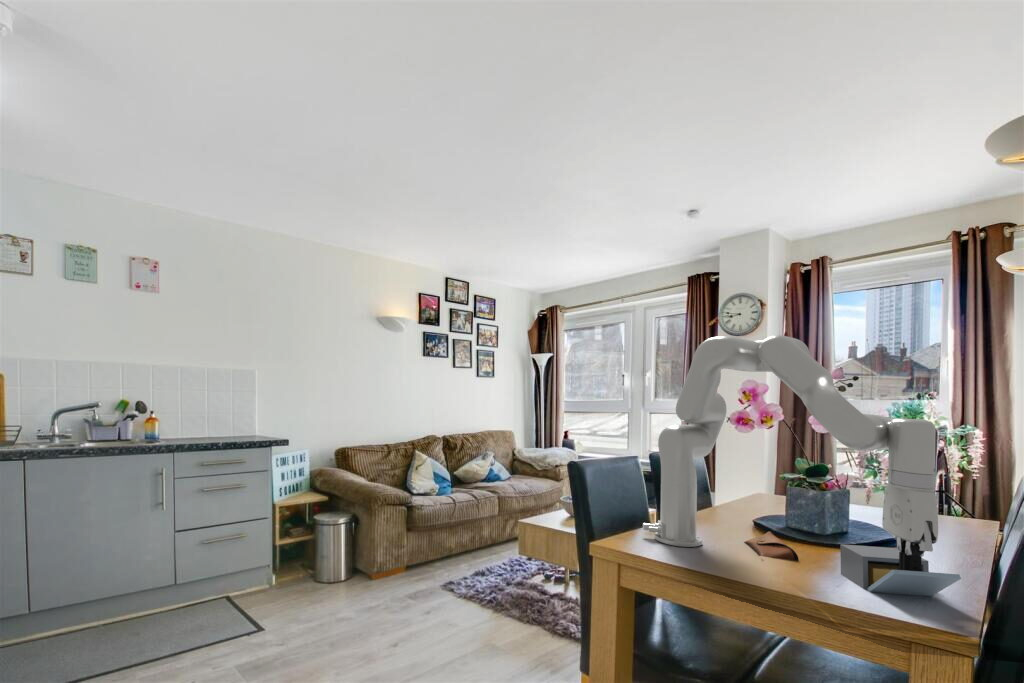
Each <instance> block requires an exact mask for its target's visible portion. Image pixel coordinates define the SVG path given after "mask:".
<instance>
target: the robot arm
mask: <svg viewBox="0 0 1024 683" xmlns="http://www.w3.org/2000/svg"><path fill="white" fill-rule="evenodd" d="M810 353H811V352H810V350H809V347H808V346H807V344H806V343H804V342H803V341H802V340H800V339H798V338H795V337H792V336H786V335H781V334H776V335H770V336H768V337H767V338H764V339H762V340H749V339H743V338H740V337H735V336H730V335H729V336H728V335H727V336H726V335H719V336H713V337H710V338H707V339H705V340H704V341H703V342H701V343H700V344H699V345H698V347H697V348H696V349H695V351H694V354H693V357H692V359H691V360H692V361H691V364H690V367H689V369H688V373H687V375H686V378H685V380H684V382H683V386H682V387H681V388H682V389H681V391H680V394H679V396H678V399H677V401H676V405H675V414H676V417H677V418H678V419H679V420H680V421H682V422H684V423H687V424H672V425H668V426H667V427H665V428H664V429H662V431H661V432H660V434H659V436H658V439H657V445H658V446H657V447H658V452H659V454H658V455H659V459H660V517H659V518H660V519H658V520H657V522H654V523H647V522H642V530H643V531H648V532H649V533H654V536H653V537H654V539H655V540H656V541H658V542H660V543H661V544H665V545H668V546H675V547H682V548H683V547H685V548H694V547H699V546H701V545H702V544H703V539H702V537H700V536H699V535H697V513H698V512H697V508H698V506H697V505H698V504H697V503H698V502H697V501H698V477H697V470H696V465H695V462H694V459H699V458H700V459H701V458H705V457H706V456H708V455H709V454H710V453H711V452H712V451H713V449H714V446H715V444H716V442H717V440H718V437H719V434H720V433H721V432H720V431H721V429H722V427H723V424H724V421H725V419H726V417H727V403H726V401H725V399H724V397H723V396H722V394H720V393H718V392H717V390H718V388H719V386H720V384H721V378H722V377H721V376H722V370H725V369H726V370H734V371H740V372H747V373H748V372H749V373H750V372H751V373H752V372H754V373H756V372H761V373H762V372H763V373H764V372H766V373H772V374H774V375H775V376H776V377H777V378H778V379H779V380H781V382H782V383H784V384H785V385H786V386H787V387H788V388H789V389H790V390H791V391H792V392H794V394H795V395H797V396H798V397H799V398H800V400H801V401H802V403H803V405H804V406H805V407H806V409H807V411H808V412H809V413H810V414H811V416H812V418H814V419H815V421H816V422H818V424H820V425H821V426H822V427H823V428H824V429H825V430H826V431H827V432H828V433H829V434H830V435H831V436H833V437H834V438H835V439H836V440H837V441H838V442H839V443H841V444H842V445H843V446H845V447H847V448H849V449H850V450H854V451H859V452H861V451H863V452H864V451H876V450H879V451H881V450H887V451H888V456H887V457H888V459H887V460H888V461H887V462H888V464H887V465H888V466H887V467H888V468H887V470H888V471H887V474H888V475H887V483H886V487H885V491H884V497H883V505H882V521H881V525H882V528H883V530H884V531H886V533H889V534H890V536H891V537H892V538H893V539H894V540H896V541H895V542H896V547H897V548H898V551H900V552H899V570H906V571H919V572H921V560H922V557H924V554H925V552H931V553H932V552H933V551H934V548H933V545H934V544H936V543H937V542H938V538H939V516H938V514H939V513H938V505H937V497H936V493H935V492H936V426H935V425H934V424H933V422H932V421H929V420H924V419H916V418H902V417H900V418H899V417H898V418H897V417H896V418H892V417H888V416H882V415H878V414H868V413H863V412H862V411H860V410H859V409H858V408H856V407H855V406H854V405H853V404H852V403H850V402H849V401H848V400H847V399H846V398H845V397H844V396H843V395H842V394H841V392H839V391H838V389H837V388H836V386H835V384H834V378H833V375H832V373H831V372H830V371H829V370H828V369H826V368H825V367H824V366H823V365H822V364H821V363H819V362H818V361H817V360H816V359H815V358H813V357H812V356H811V354H810Z"/></svg>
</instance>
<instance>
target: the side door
mask: <svg viewBox="0 0 1024 683" xmlns="http://www.w3.org/2000/svg"><path fill="white" fill-rule="evenodd" d="M961 579H962V577H961V575H960V574H957V573H948V572H947V573H945V572H933V571H929V572H919V571H906V570H891V571H890V572H889V573H887V574H886V575H885V576H883V577H882V578H881V579H879V580H878V581H876V582H875V583H874V584H872V585H870V586H868V588H867V589H866V590H867V591H868V592H870V593H871V592H872V593H884V594H894V595H896V594H899V595H909V596H910V595H911V596H922V597H924V596H925V597H933V596H935V595H936V594H938V593H940V592H941V591H943V590H944V589H946V588H949V586H951V585H954V584H955V583H957V582H958V581H959V580H961Z"/></svg>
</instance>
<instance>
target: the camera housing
mask: <svg viewBox="0 0 1024 683" xmlns="http://www.w3.org/2000/svg"><path fill="white" fill-rule="evenodd" d="M839 548H840V549H839V550H840V575H841V576H843V577H844V578H846V579H848V580H849V581H851V582H852V583H853V584H855V585H856V586H858V587H860V588H861V589H863V590H868V589H867V588H868V587H869V585H870V586H871V585H872V584H874V583H875V582H876V581H878V580H879V579H881V578H882V577H883V576H885V575H886V574H887V573H889V572H890V571H891V570H899V552H900V551H898V548H895V547H885V546H882V547H881V546H869V545H858V544H857V545H856V544H844V543H843V544H840V546H839ZM929 570H930V567H929V560H927V559H925V558H922V560H921V572H930V571H929Z"/></svg>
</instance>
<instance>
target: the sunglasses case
mask: <svg viewBox="0 0 1024 683" xmlns="http://www.w3.org/2000/svg"><path fill="white" fill-rule="evenodd" d="M743 543H744V544H746V545H747V546H748V547H749V548H750V549H751V550H753V551H754V552H755V553H756V554H757V555H758V556H759V557H763V558H764V557H765V558H771V559H777V560H785V561H787V560H788V561H797V562H799V556H798V554H797V552H796V551H795V550H794V549H793V548H792V547H790V546H789V545H787V543H785V542H783V541H782V540H781V539H780V538H778V537H777V536H775V535H774V534H773V533H772V532H771V531H767V532H766V533H765V534H763V535H760V536H756V537H753V538H751V539H748V540H746V541H743ZM762 561H765V560H764V559H762Z"/></svg>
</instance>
